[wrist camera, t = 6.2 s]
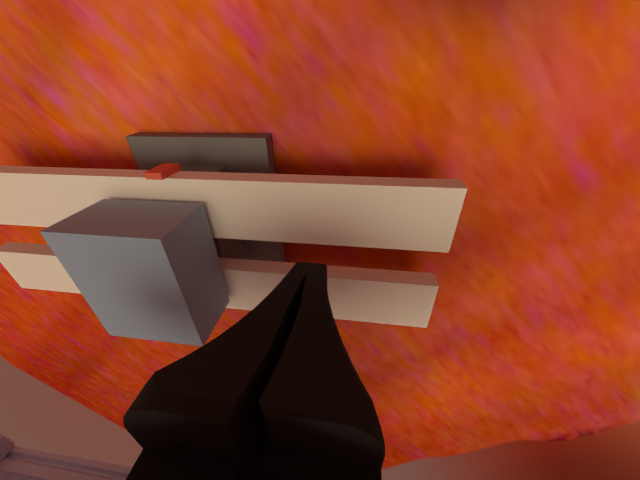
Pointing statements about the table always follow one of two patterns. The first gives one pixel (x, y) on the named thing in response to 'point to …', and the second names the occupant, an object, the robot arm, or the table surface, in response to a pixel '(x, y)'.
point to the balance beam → (251, 219)
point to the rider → (144, 268)
